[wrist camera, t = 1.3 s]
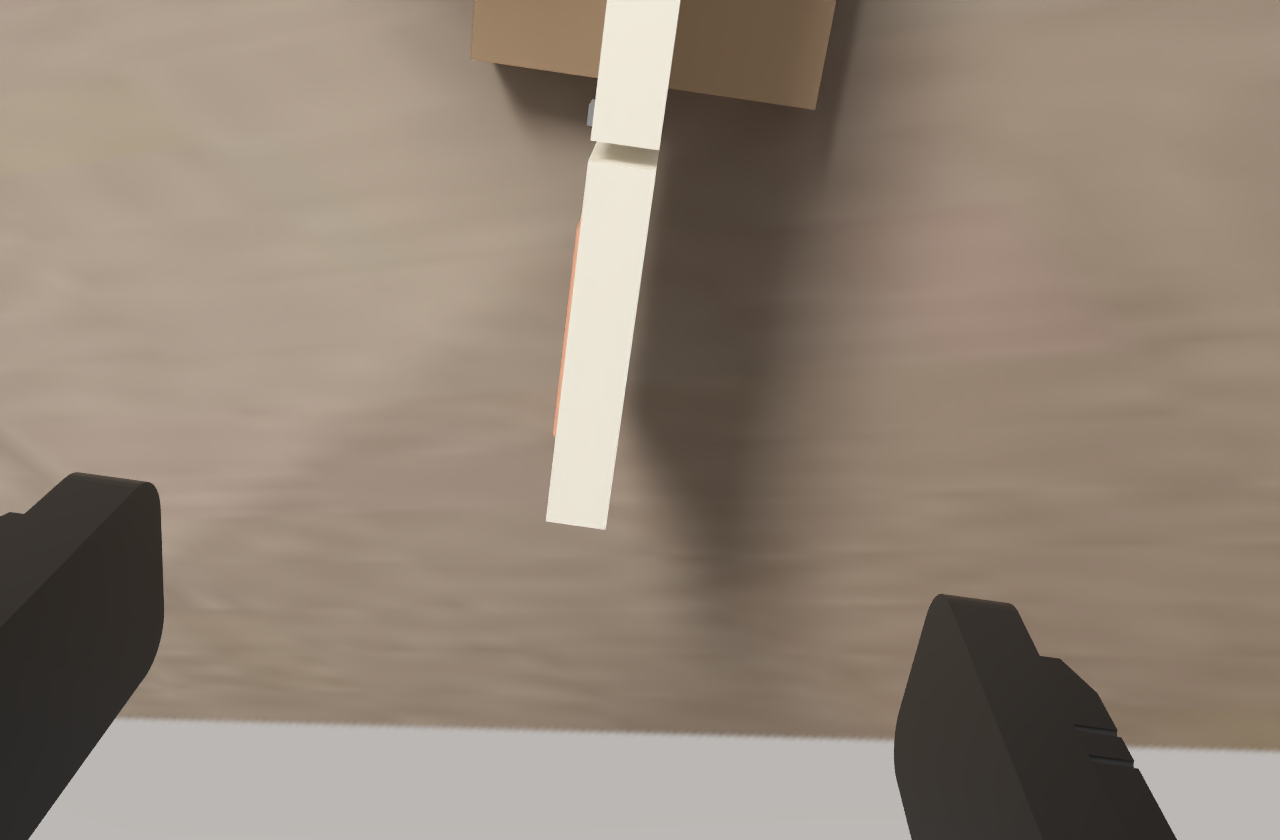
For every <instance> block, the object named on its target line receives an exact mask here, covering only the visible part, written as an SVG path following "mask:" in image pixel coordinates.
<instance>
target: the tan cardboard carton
mask: <svg viewBox="0 0 1280 840" xmlns="http://www.w3.org/2000/svg"><path fill="white" fill-rule="evenodd" d="M835 5H836V0H475V2H474V16H473V29H472V43H471V57H470V60H477V61H484V62H491V63H498V64H504V65H511V66H518V67H525V68H532V69H539V70H545V71H552V72H559V73H566V74H573V75H579V76H586V77H593V78H598V81H597V90H596V98H595V99H592V100H591V102H590V104H589V110H588V118H587V126H592V132H591V141H598V142H605V143H612V144H619V145H626V146H632V147H639V148H646V149H653V150H659V148H660V141H661V134H662V127H663V120H664V113H665V106H666V99H667V92H668V89H675V90H682V91H689V92H695V93H702V94H709V95H716V96H723V97H729V98H736V99H743V100H750V101H757V102H764V103H770V104H777V105H784V106H791V107H798V108H804V109H811V110H815V109H816V103H817V98H818V93H819V88H820V83H821V78H822V72H823V67H824V62H825V57H826V52H827V47H828V41H829V36H830V31H831V26H832V21H833V16H834V10H835Z"/></svg>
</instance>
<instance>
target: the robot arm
mask: <svg viewBox="0 0 1280 840" xmlns="http://www.w3.org/2000/svg"><path fill="white" fill-rule="evenodd" d="M163 621H164V595H163V566H162V536H161V508H160V499H159V495H158V492H157V489H156V488H155V486H154V485H153V484H152V483H149V482H144V481H137V480H130V479H122V478H115V477H108V476H101V475H94V474H86V473H79V472H76V473H72V474H70V475H68V476H67V477H66V478H64V479H63V480H62V481H61V482H60V483H59V484H58V485H56V486H55V487H54V488H53V489H52V490H51V491H50V492H49V493H47V494H46V495H45V496H44V497H43V498H42V499H41V500H40V501H38V502H37V503H36V504H35V505H34V506H33V507H32V508H31V509H29V510H28V511H27V512H26V513H25V514H20V513H12V512H10V513H7V514H5V515H3V516H0V840H28V839H29V837H30V836H31V835H32V833H33V832H34V830H35V829H36V828H37V826H38V825H39V823H40V822H41V820H42V819H43V818H44V816H45V815H46V814H47V812H48V811H49V810H50V808H51V807H52V805H53V804H54V803H55V801H56V800H57V798H58V797H59V796H60V794H61V793H62V791H63V790H64V789H65V787H66V786H67V785H68V783H69V782H70V780H71V779H72V778H73V776H74V775H75V773H76V772H77V771H78V769H79V768H80V766H81V765H82V763H83V762H84V761H85V759H86V758H87V757H88V755H89V754H90V752H91V751H92V749H93V748H94V747H95V746H96V744H97V742H98V741H99V740H100V739H101V737H102V736H103V734H104V733H105V731H106V730H107V729H108V727H109V726H110V725H111V723H112V722H113V720H114V719H115V718H116V716H117V715H118V713H119V712H120V711H121V709H122V708H123V707H124V705H125V704H126V702H127V701H128V700H129V698H130V697H131V695H132V694H133V693H134V691H135V690H136V688H137V687H138V686H139V684H140V683H141V681H142V680H143V679H144V677H145V676H146V674H147V673H148V671H149V669H150V667H151V665H152V663H153V661H154V658H155V656H156V653H157V650H158V647H159V643H160V639H161V635H162V629H163ZM1133 763H1134V760H1133V758H1132V756H1131V754H1130V752H1129V751H1128V749H1127V747H1126V745H1125V743H1124V741H1123V740H1122V738H1121V737H1117V728H1116V727H1115V725H1114V723H1113V721H1112V719H1111V717H1110V716H1109V714H1108V712H1107V710H1106V708H1105V706H1104V705H1103V703H1102V701H1101V699H1100V697H1099V695H1098V694H1097V692H1095V691H1094V690H1093V689H1092V688H1091V687H1090V686H1089V685H1088V684H1087V683H1086V682H1085V681H1084V680H1082V679H1081V678H1080V677H1079V676H1078V675H1077V674H1076V673H1075V672H1074V671H1073V670H1072V669H1071V668H1069V667H1068V666H1067V665H1066V664H1065V663H1064V662H1063V661H1062V660H1061V659H1058V658H1051V657H1043V656H1039V654H1038V651H1037V649H1036V647H1035V645H1034V643H1033V641H1032V639H1031V637H1030V635H1029V633H1028V631H1027V629H1026V627H1025V625H1024V623H1023V621H1022V619H1021V617H1020V615H1019V613H1018V611H1017V609H1016V608H1015V607H1014V606H1013V605H1012V604H1010V603H1003V602H996V601H989V600H981V599H974V598H967V597H960V596H952V595H945V594H939V595H937V596H936V597H935V598H934V599H933V601H932V603H931V605H930V607H929V610H928V613H927V616H926V619H925V623H924V626H923V630H922V633H921V637H920V640H919V644H918V647H917V651H916V654H915V658H914V661H913V665H912V668H911V672H910V675H909V679H908V682H907V686H906V689H905V693H904V696H903V700H902V703H901V707H900V710H899V714H898V719H897V724H896V731H895V741H894V765H895V774H896V779H897V783H898V787H899V791H900V795H901V798H902V803H903V807H904V811H905V815H906V818H907V823H908V826H909V830H910V834H911V838H912V840H1177V839H1176V837H1175V835H1174V834H1173V832H1172V830H1171V828H1170V826H1169V824H1168V823H1167V821H1166V819H1165V817H1164V815H1163V813H1162V811H1161V809H1160V808H1159V806H1158V804H1157V802H1156V800H1155V798H1154V797H1153V795H1152V793H1151V791H1150V789H1149V787H1148V786H1147V784H1146V782H1145V780H1144V778H1143V776H1142V774H1141V773H1140V771H1139V769H1136V768H1134V766H1133Z"/></svg>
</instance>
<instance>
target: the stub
mask: <svg viewBox="0 0 1280 840" xmlns="http://www.w3.org/2000/svg"><path fill="white" fill-rule="evenodd" d="M658 155H659V150H653V149H646V148H639V147H632V146H626V145H619V144H612V143H605V142H598V141H597V142H596V144H595V147H594V149H593V151H592V154H591V156H590V158H589V160H588V166H587V175H586V184H585V192H584V201H583V209H582V216H581V218H580V221H579V223H578V226H577V232H576V240H575V249H574V257H573V266H572V275H571V283H570V292H569V300H568V309H567V318H566V326H565V335H564V343H563V352H562V361H561V369H560V378H559V387H558V395H557V404H556V412H555V421H554V430H553V436H556V439H555V448H554V456H553V465H552V473H551V482H550V490H549V499H548V507H547V516H546V521H547V522H554V523H562V524H569V525H576V526H583V527H590V528H597V529H604V530H605V529H606V522H607V515H608V508H609V501H610V494H611V487H612V480H613V473H614V466H615V458H616V451H617V444H618V437H619V430H620V423H621V416H622V409H623V402H624V395H625V388H626V381H627V374H628V367H629V360H630V353H631V346H632V339H633V332H634V324H635V317H636V310H637V303H638V296H639V289H640V282H641V275H642V268H643V261H644V254H645V247H646V240H647V233H648V226H649V219H650V212H651V205H652V197H653V190H654V183H655V176H656V169H657V162H658Z"/></svg>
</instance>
